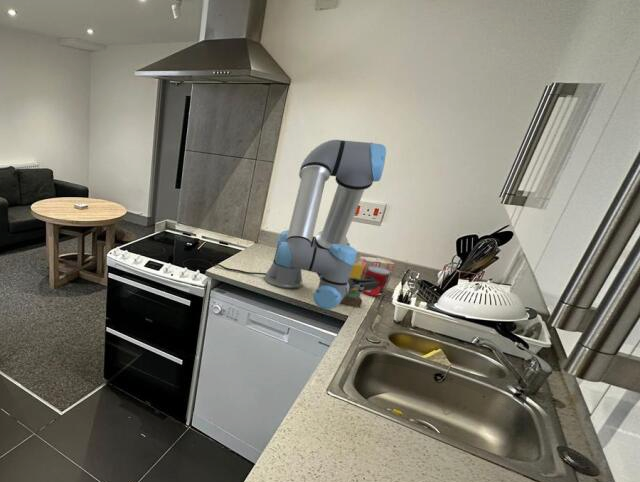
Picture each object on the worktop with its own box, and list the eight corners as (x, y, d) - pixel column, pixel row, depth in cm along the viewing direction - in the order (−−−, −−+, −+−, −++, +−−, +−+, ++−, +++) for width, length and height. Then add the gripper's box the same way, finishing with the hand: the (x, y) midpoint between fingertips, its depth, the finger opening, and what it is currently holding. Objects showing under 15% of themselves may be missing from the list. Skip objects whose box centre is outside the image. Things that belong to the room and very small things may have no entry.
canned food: (382, 298, 165) (392, 274, 160) (361, 294, 167) (370, 270, 163) (379, 292, 171) (387, 268, 167) (358, 288, 174) (367, 265, 169)
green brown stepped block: (335, 303, 156) (340, 289, 153) (330, 294, 164) (334, 281, 162) (359, 307, 154) (364, 293, 152) (353, 298, 162) (357, 285, 160)
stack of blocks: (337, 284, 176) (345, 258, 171) (332, 279, 182) (340, 253, 177) (386, 289, 175) (396, 263, 170) (379, 284, 181) (388, 259, 176)
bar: (345, 288, 155) (352, 264, 151) (342, 284, 159) (350, 261, 155) (356, 290, 155) (364, 266, 151) (353, 286, 158) (360, 263, 154)
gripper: (296, 285, 139) (313, 271, 154) (375, 309, 125) (385, 291, 140) (302, 265, 136) (318, 253, 151) (383, 287, 122) (392, 272, 137)
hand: (351, 271), depth 146 cm, fingers open, 13 cm apart
